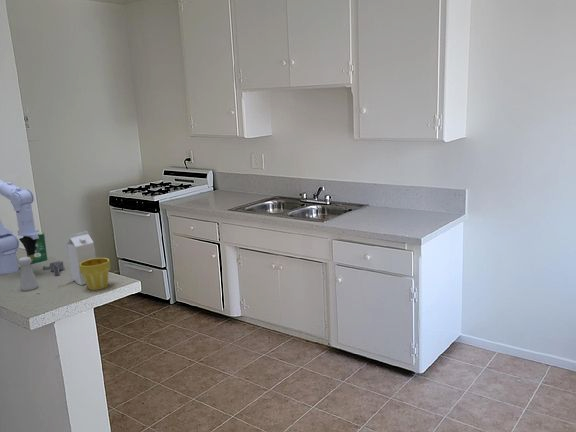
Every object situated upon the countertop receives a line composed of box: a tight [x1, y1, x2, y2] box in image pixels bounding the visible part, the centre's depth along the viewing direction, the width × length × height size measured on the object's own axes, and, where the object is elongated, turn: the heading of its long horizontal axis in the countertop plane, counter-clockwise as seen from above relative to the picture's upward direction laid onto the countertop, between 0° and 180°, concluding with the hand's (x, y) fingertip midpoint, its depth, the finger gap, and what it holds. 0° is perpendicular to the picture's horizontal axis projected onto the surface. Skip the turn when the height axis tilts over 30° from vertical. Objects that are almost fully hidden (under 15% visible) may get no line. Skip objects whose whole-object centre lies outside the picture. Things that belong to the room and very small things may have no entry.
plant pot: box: [79, 257, 111, 291], centre depth 196 cm, size 10×10×10 cm
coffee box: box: [26, 232, 49, 266], centre depth 234 cm, size 8×3×13 cm, turn 110°
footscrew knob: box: [49, 260, 65, 277], centre depth 214 cm, size 11×5×4 cm, turn 22°
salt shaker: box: [17, 256, 39, 292], centre depth 195 cm, size 6×6×13 cm
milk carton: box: [66, 230, 97, 286], centre depth 203 cm, size 7×7×19 cm
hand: (31, 254), depth 212 cm, fingers closed
